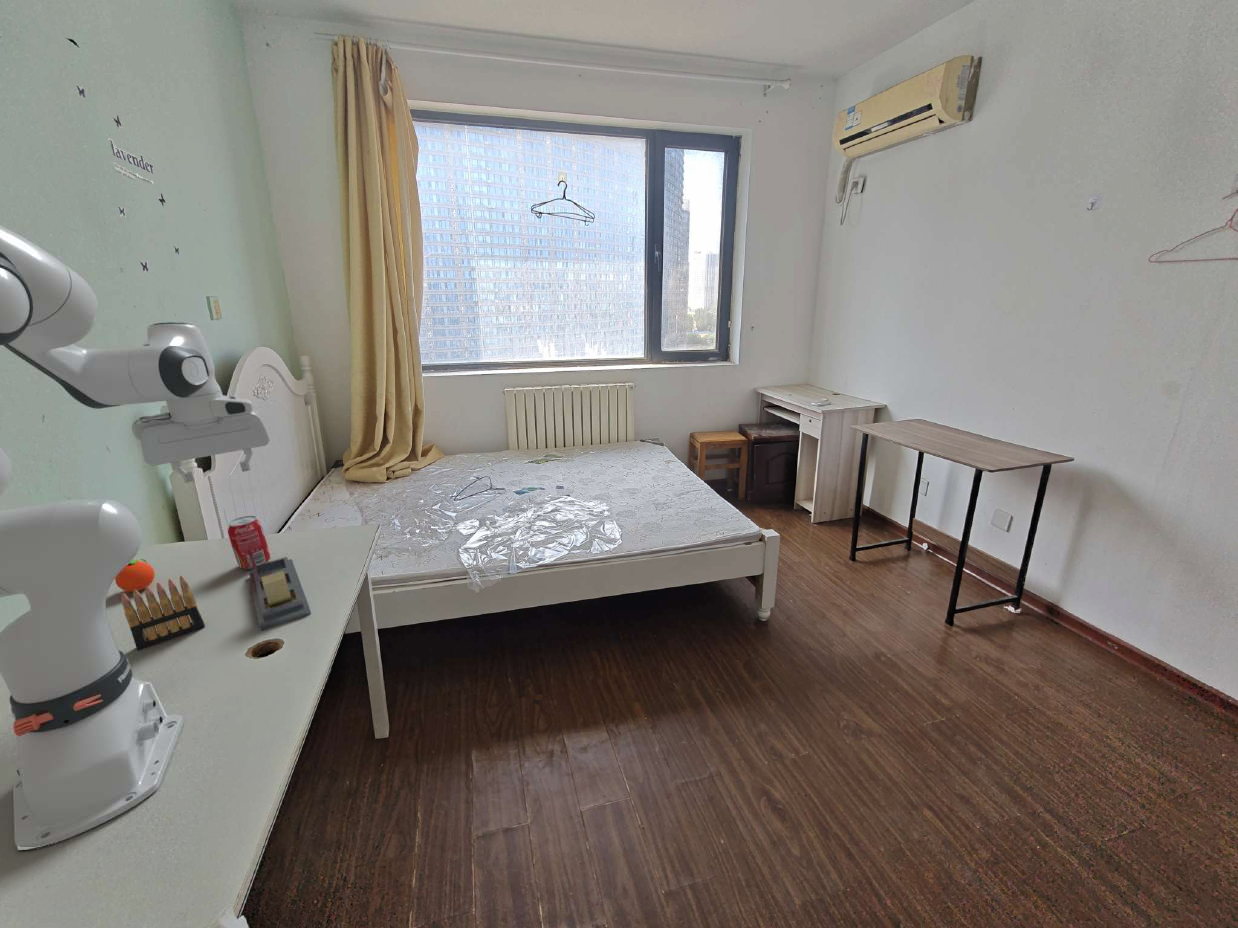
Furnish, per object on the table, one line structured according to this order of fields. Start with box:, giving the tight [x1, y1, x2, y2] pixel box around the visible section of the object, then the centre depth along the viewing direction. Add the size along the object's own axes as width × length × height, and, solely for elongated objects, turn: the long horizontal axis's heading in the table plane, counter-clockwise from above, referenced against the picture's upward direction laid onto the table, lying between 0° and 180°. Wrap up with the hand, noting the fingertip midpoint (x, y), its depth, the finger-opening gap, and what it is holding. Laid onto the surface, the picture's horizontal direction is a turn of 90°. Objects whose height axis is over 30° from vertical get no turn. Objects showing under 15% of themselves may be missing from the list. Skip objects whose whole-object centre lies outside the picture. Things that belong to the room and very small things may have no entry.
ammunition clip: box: [121, 575, 206, 651], centre depth 107 cm, size 11×2×12 cm, turn 130°
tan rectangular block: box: [261, 571, 292, 608], centre depth 114 cm, size 4×4×6 cm
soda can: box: [227, 515, 271, 570], centre depth 135 cm, size 7×7×12 cm
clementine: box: [114, 558, 156, 593], centre depth 127 cm, size 8×7×7 cm
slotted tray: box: [248, 556, 312, 631], centre depth 122 cm, size 28×9×3 cm, turn 36°
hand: (218, 475), depth 110 cm, fingers open, 8 cm apart
